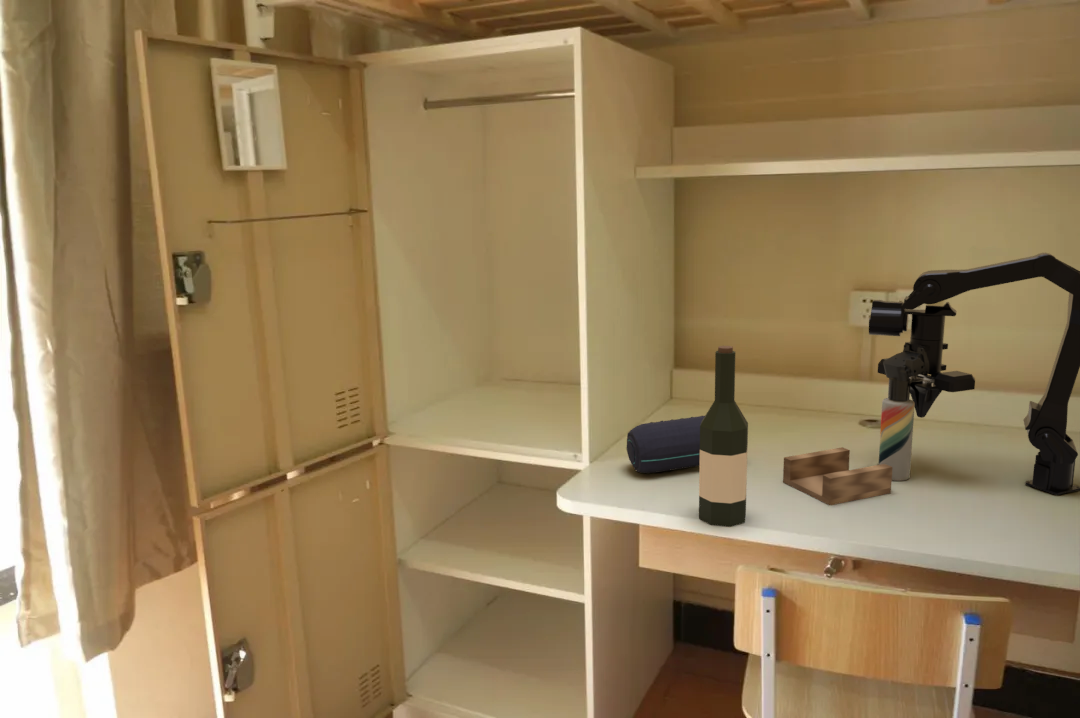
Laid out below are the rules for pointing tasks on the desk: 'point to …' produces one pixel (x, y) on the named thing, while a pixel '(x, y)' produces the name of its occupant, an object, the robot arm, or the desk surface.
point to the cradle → (835, 476)
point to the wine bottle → (723, 450)
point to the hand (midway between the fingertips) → (921, 417)
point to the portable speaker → (665, 445)
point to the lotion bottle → (897, 429)
